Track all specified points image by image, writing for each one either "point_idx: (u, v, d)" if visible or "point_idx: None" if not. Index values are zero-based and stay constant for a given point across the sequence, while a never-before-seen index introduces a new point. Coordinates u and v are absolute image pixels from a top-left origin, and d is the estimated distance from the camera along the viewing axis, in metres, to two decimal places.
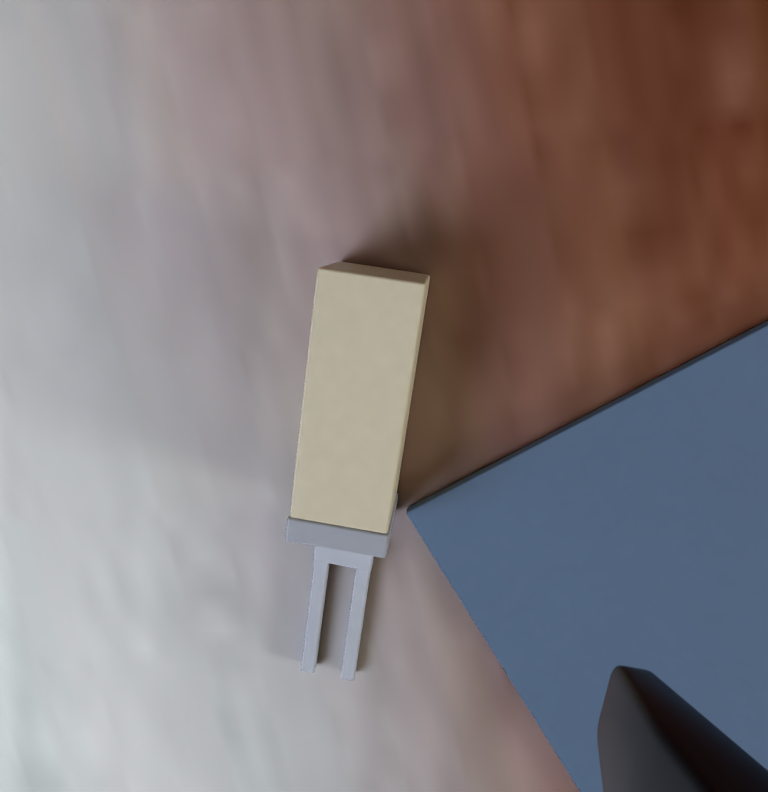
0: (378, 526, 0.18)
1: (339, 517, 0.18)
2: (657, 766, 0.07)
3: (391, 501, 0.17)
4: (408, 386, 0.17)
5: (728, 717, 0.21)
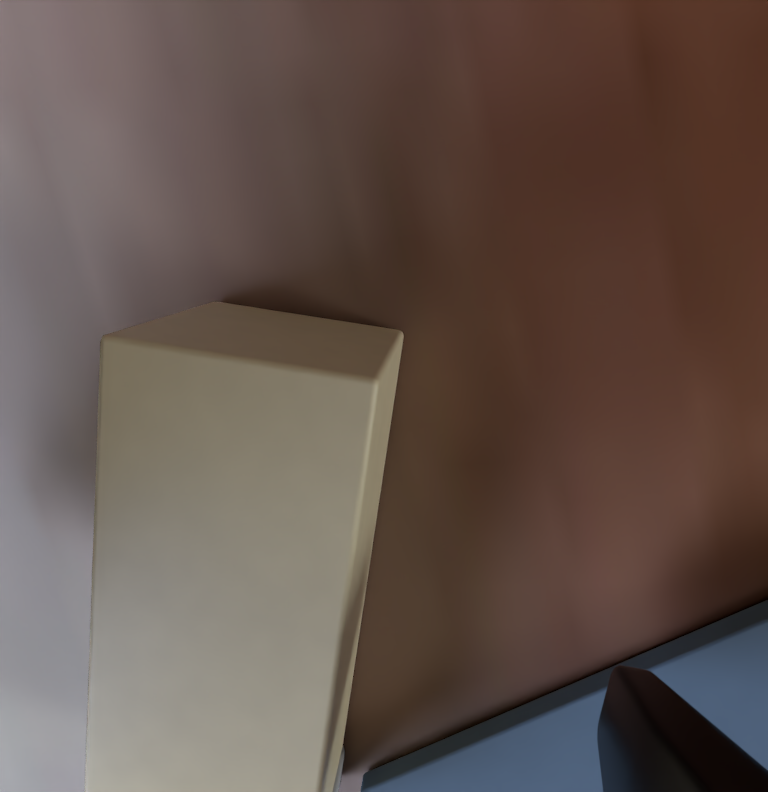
0: None
1: None
2: (657, 766, 0.07)
3: None
4: (340, 628, 0.07)
5: None
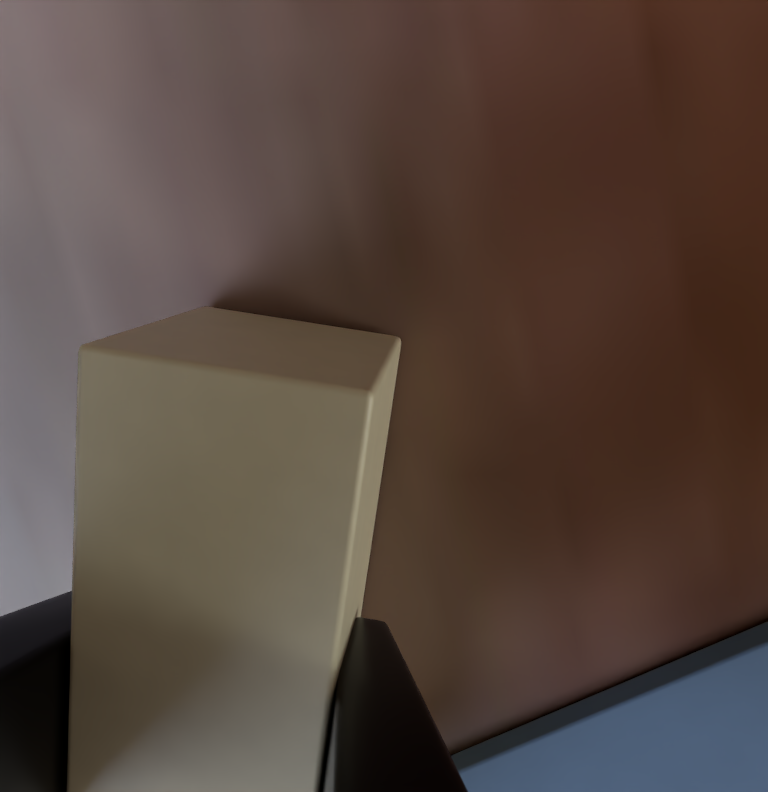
0: None
1: None
2: (333, 704, 0.07)
3: None
4: (334, 653, 0.06)
5: None
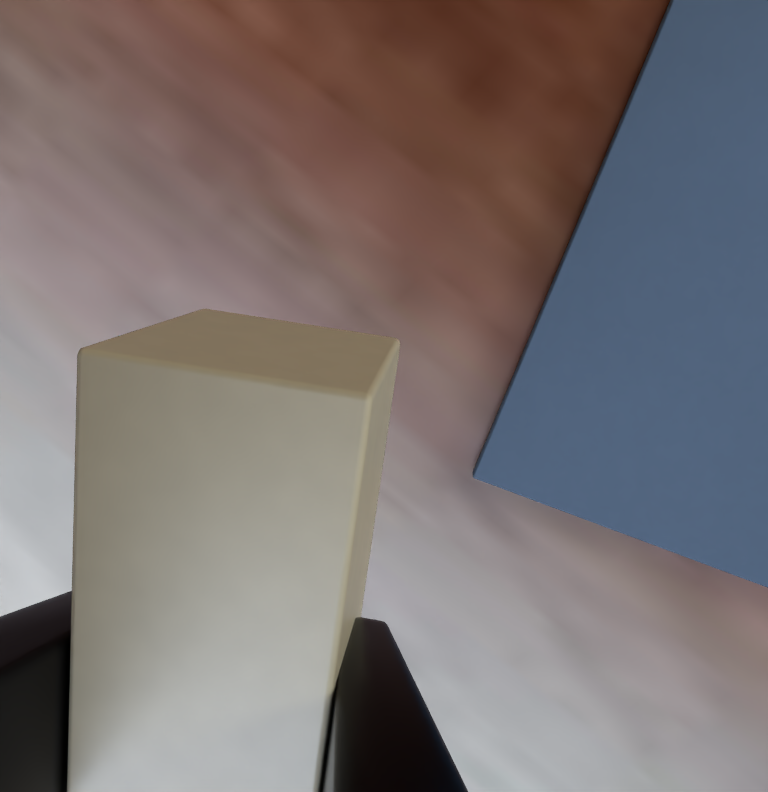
0: None
1: None
2: (333, 704, 0.07)
3: None
4: (333, 655, 0.06)
5: None
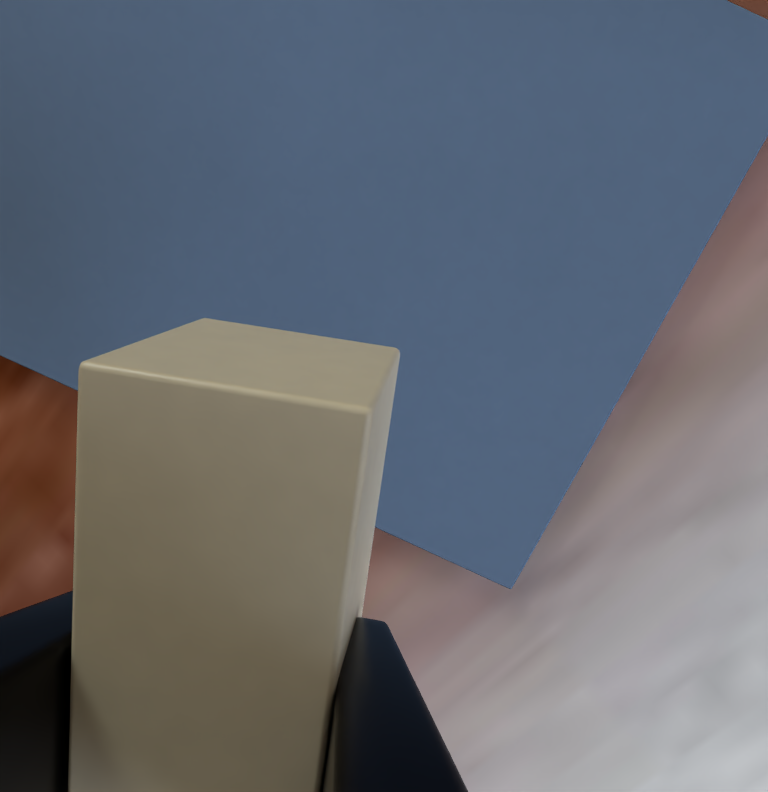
0: None
1: None
2: None
3: None
4: (333, 667, 0.06)
5: (511, 160, 0.17)
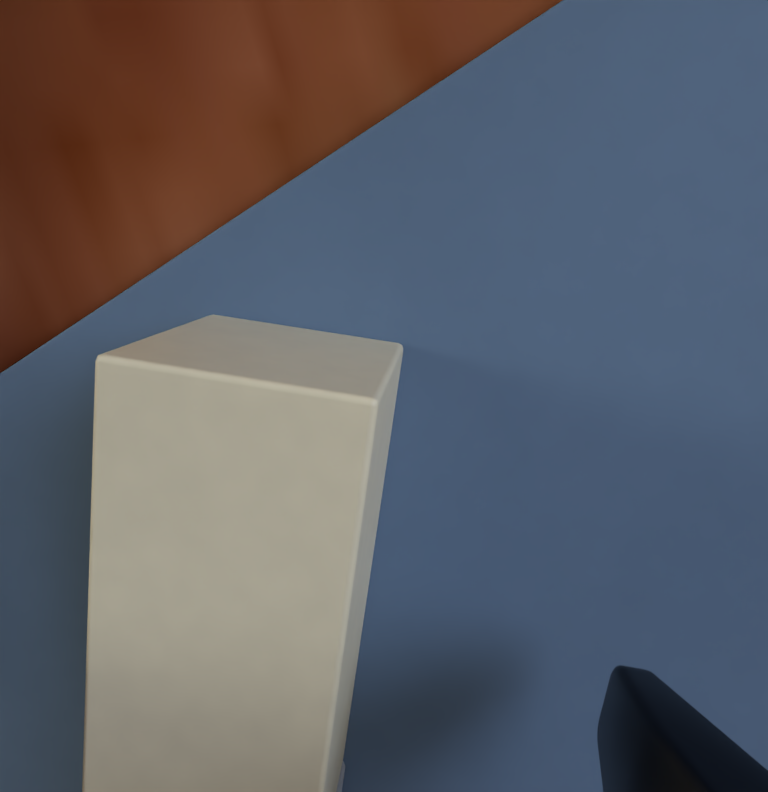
0: None
1: None
2: (657, 766, 0.07)
3: None
4: (340, 649, 0.07)
5: None
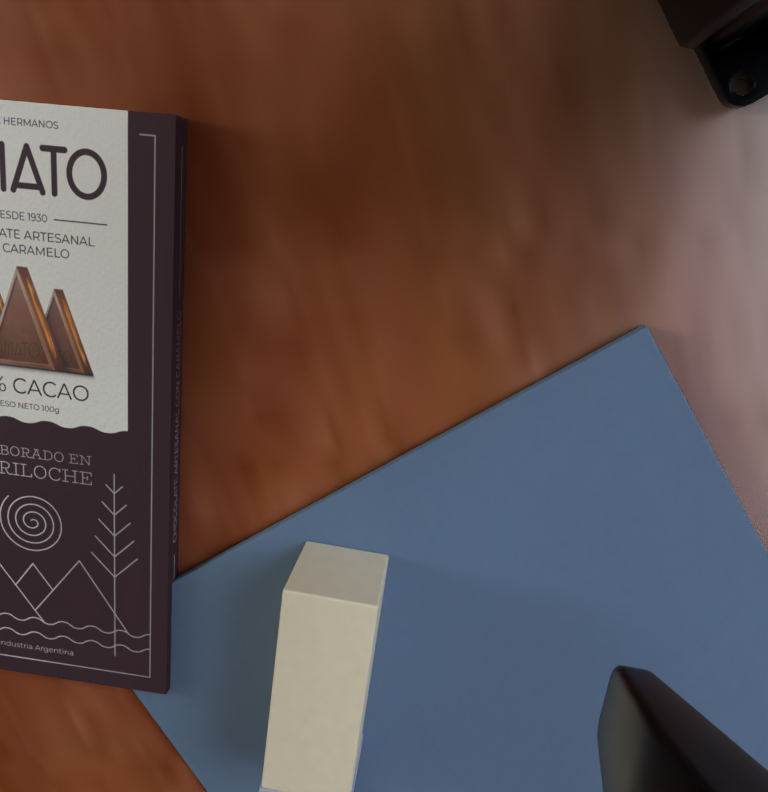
0: None
1: (305, 789, 0.20)
2: (657, 766, 0.07)
3: (351, 778, 0.19)
4: (364, 687, 0.19)
5: (560, 560, 0.20)
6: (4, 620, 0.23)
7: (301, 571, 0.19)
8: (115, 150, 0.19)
